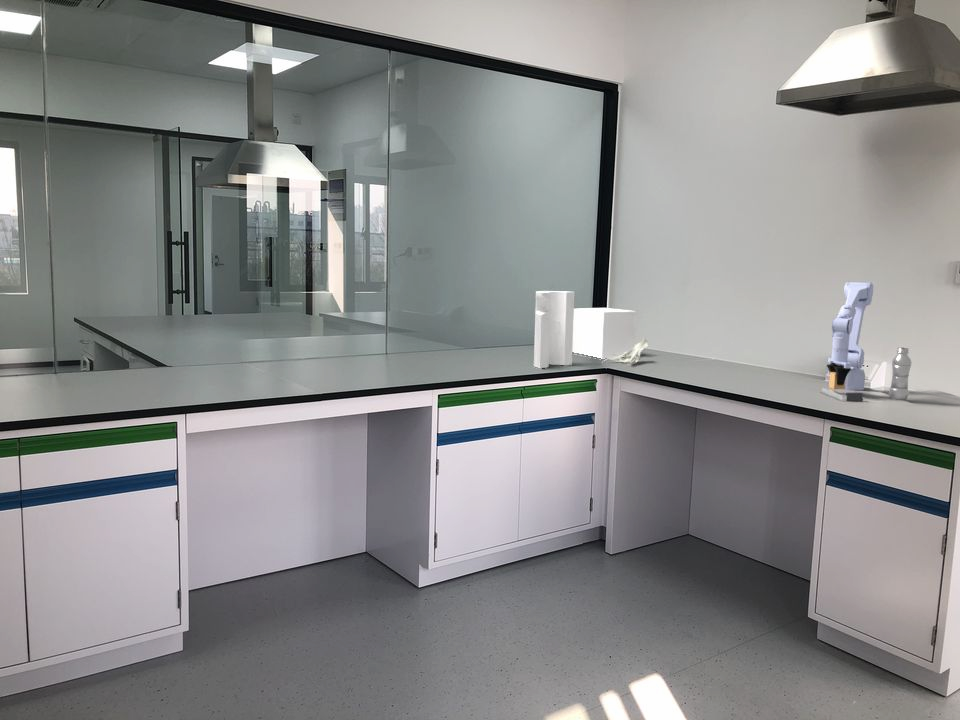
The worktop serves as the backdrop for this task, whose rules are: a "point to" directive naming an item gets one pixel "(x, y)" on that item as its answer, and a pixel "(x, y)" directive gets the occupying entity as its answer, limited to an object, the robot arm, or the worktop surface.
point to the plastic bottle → (900, 375)
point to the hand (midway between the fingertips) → (837, 383)
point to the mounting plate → (843, 395)
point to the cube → (603, 331)
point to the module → (835, 382)
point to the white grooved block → (553, 328)
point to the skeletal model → (631, 353)
